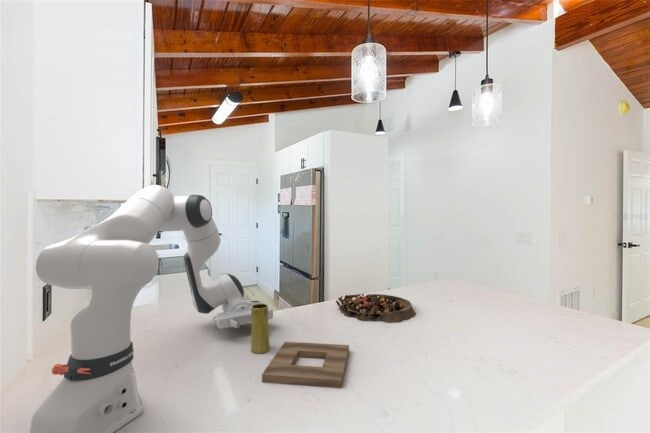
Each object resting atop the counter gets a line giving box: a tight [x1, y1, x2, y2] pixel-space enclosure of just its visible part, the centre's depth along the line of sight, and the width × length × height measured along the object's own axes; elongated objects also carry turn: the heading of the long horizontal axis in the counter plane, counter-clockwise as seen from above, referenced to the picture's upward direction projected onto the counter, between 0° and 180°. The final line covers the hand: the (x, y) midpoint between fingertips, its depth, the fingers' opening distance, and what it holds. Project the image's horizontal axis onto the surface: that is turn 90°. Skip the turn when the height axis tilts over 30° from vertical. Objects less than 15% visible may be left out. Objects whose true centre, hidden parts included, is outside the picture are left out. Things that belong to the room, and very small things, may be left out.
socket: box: [261, 341, 350, 389], centre depth 93 cm, size 21×21×2 cm
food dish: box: [335, 293, 417, 324], centre depth 142 cm, size 35×33×8 cm
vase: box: [250, 303, 271, 355], centre depth 104 cm, size 6×6×14 cm
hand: (251, 322), depth 111 cm, fingers open, 8 cm apart
